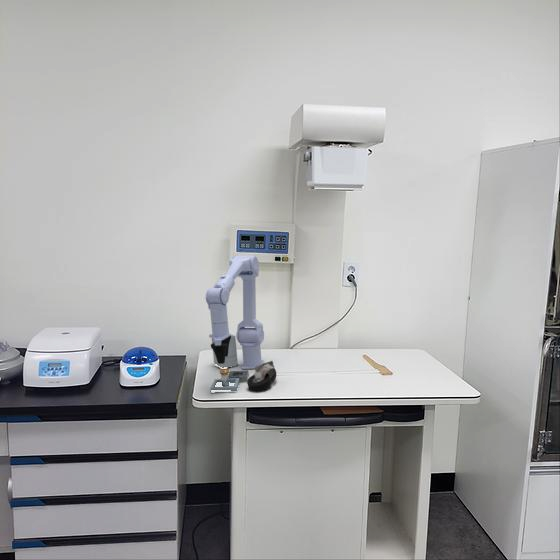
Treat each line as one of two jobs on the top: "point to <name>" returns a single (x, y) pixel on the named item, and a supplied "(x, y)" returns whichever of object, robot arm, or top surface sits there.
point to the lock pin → (224, 377)
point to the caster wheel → (262, 377)
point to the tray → (232, 388)
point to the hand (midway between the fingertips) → (223, 359)
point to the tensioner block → (239, 375)
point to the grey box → (229, 354)
